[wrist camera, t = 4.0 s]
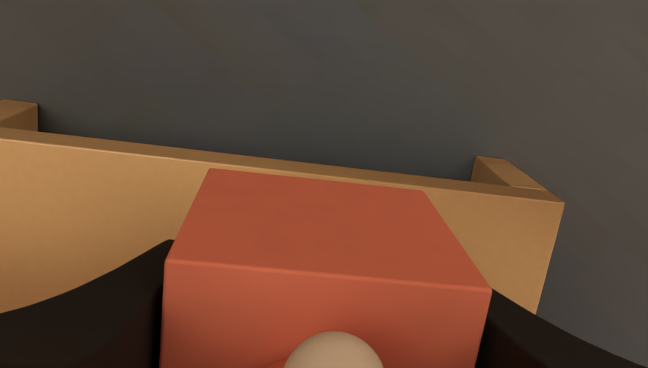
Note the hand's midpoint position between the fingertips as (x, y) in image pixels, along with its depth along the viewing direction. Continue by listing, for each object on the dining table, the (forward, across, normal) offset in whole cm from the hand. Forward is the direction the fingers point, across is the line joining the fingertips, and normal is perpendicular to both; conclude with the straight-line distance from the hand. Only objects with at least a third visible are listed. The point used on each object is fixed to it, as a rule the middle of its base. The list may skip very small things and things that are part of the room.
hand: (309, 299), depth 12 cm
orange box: (+1, 0, 0) cm, 1 cm away
